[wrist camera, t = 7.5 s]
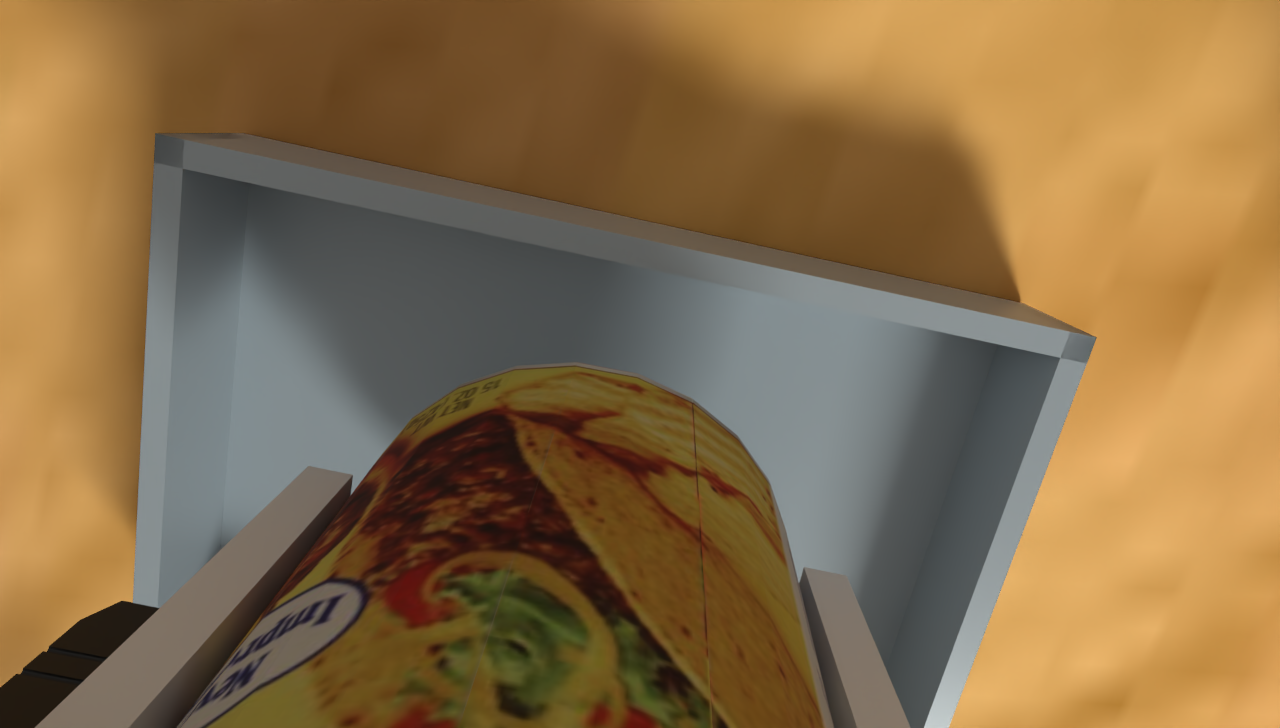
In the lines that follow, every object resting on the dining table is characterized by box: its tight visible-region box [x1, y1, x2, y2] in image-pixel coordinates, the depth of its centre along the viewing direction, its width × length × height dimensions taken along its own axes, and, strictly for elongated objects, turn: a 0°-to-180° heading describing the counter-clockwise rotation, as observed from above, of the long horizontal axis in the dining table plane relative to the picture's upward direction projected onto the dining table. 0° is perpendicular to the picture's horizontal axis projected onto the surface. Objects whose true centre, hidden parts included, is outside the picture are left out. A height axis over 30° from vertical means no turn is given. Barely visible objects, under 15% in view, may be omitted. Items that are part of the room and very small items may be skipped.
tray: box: [133, 133, 1097, 728], centre depth 18 cm, size 17×12×3 cm
